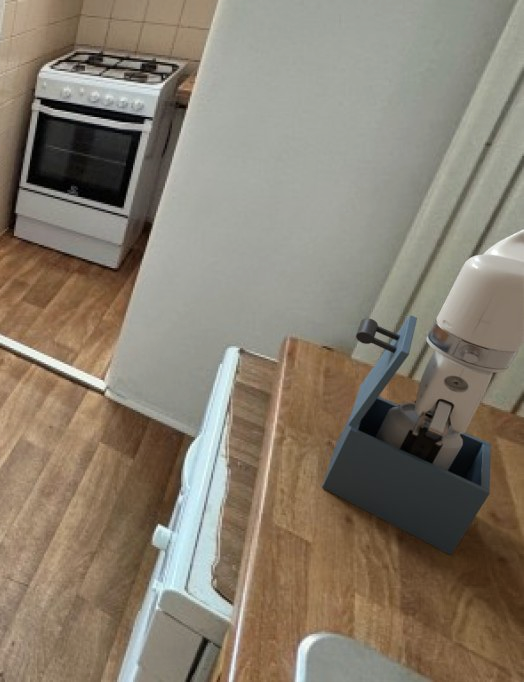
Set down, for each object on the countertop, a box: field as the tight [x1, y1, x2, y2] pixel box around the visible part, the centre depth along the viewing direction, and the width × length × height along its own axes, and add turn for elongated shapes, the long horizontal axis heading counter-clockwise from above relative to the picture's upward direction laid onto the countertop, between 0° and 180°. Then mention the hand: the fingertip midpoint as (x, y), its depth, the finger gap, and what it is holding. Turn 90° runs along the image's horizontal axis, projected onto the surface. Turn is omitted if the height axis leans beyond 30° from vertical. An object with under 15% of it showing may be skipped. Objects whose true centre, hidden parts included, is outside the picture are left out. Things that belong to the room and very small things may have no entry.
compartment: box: [321, 395, 492, 556], centre depth 88 cm, size 14×12×12 cm
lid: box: [348, 314, 418, 428], centre depth 88 cm, size 14×12×5 cm
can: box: [375, 401, 463, 471], centre depth 87 cm, size 8×8×12 cm
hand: (417, 442), depth 86 cm, fingers closed on can, 7 cm apart
